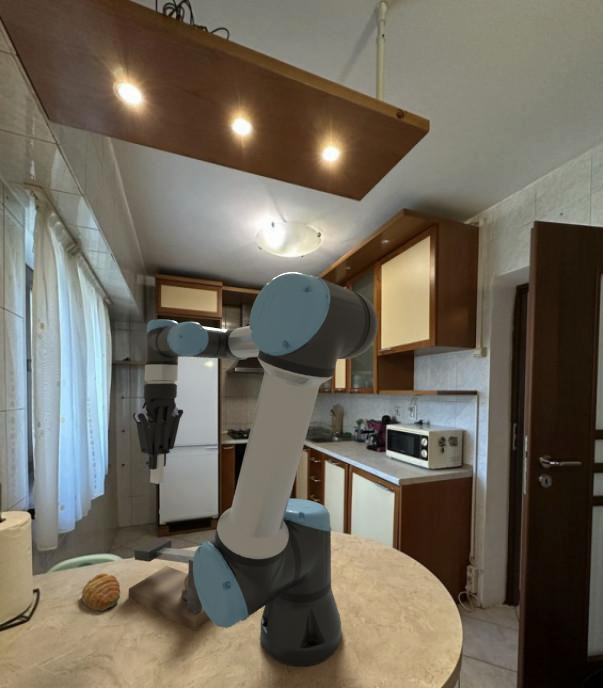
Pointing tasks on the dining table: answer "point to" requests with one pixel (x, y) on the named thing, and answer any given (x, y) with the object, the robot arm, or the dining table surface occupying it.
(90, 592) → the pastry
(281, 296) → the robot arm
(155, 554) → the lever
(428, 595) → the dining table surface
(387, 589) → the dining table surface
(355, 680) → the dining table surface
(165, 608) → the nutcracker base
